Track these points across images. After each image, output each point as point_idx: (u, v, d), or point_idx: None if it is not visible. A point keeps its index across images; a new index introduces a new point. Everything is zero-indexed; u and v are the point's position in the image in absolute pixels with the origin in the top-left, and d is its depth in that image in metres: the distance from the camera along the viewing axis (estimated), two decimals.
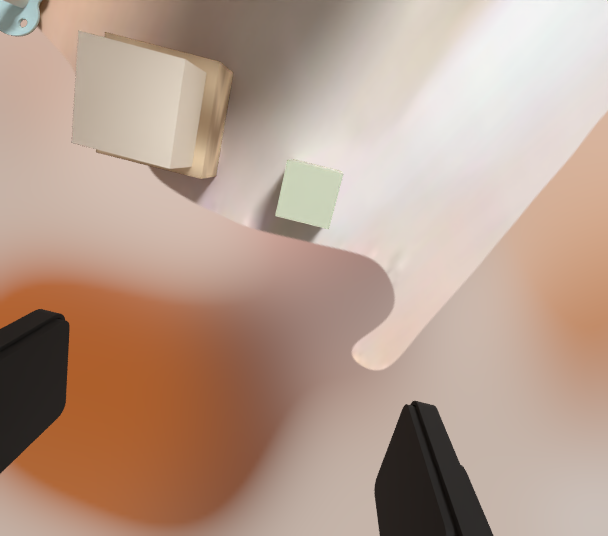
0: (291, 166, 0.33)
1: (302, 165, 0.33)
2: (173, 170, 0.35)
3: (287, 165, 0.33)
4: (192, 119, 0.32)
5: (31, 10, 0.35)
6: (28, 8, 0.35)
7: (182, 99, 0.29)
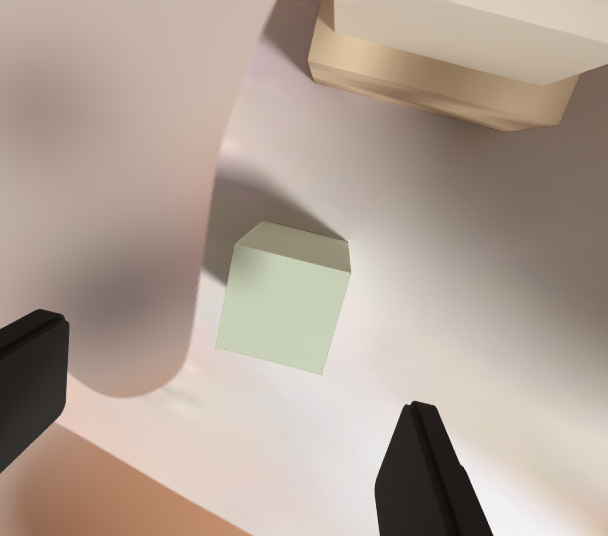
0: (337, 281, 0.16)
1: (339, 302, 0.16)
2: None
3: (340, 273, 0.16)
4: (449, 48, 0.13)
5: None
6: None
7: (526, 30, 0.10)
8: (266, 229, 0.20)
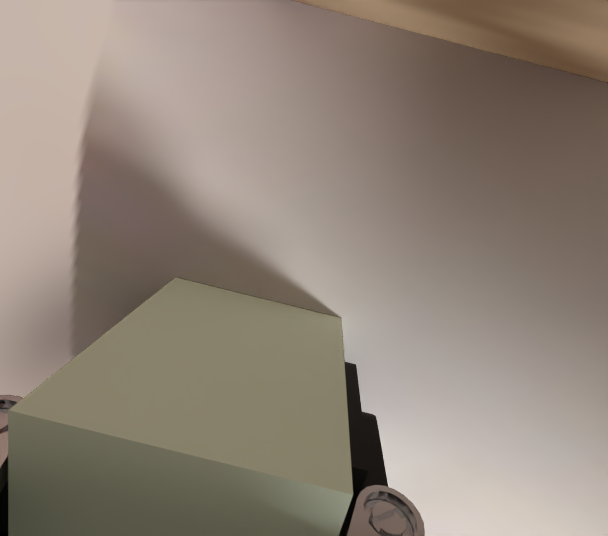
0: (314, 513, 0.05)
1: None
2: None
3: (321, 493, 0.05)
4: None
5: None
6: None
7: None
8: (167, 309, 0.09)
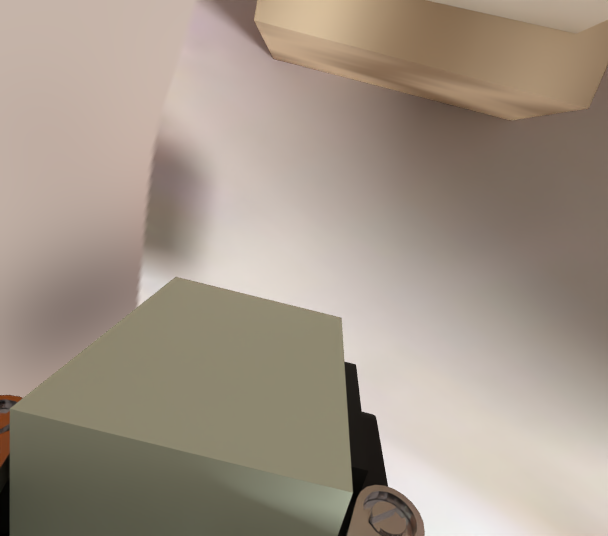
0: (313, 511, 0.06)
1: None
2: None
3: (321, 491, 0.05)
4: None
5: None
6: None
7: None
8: (167, 309, 0.09)
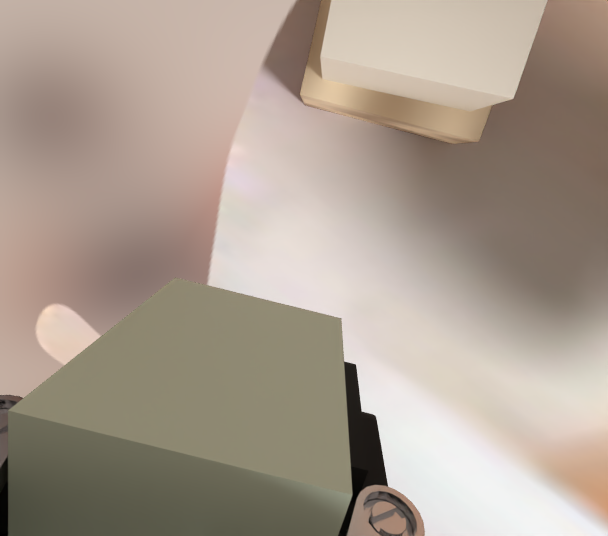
0: (312, 513, 0.05)
1: None
2: (314, 40, 0.20)
3: (320, 493, 0.05)
4: (401, 90, 0.19)
5: None
6: None
7: (443, 86, 0.16)
8: (167, 310, 0.09)
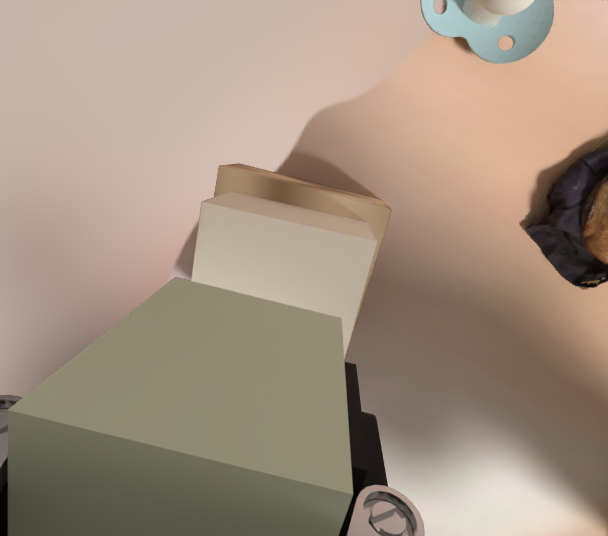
0: (313, 513, 0.05)
1: None
2: None
3: (321, 493, 0.05)
4: None
5: (457, 24, 0.22)
6: (460, 17, 0.22)
7: None
8: (167, 309, 0.09)
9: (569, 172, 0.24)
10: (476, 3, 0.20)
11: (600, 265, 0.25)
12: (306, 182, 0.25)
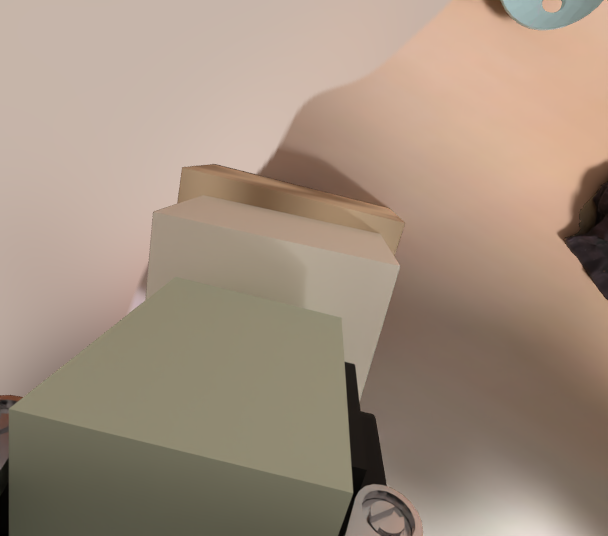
0: (314, 511, 0.06)
1: None
2: None
3: (321, 492, 0.05)
4: None
5: None
6: None
7: None
8: (167, 309, 0.09)
9: None
10: None
11: None
12: (296, 187, 0.20)
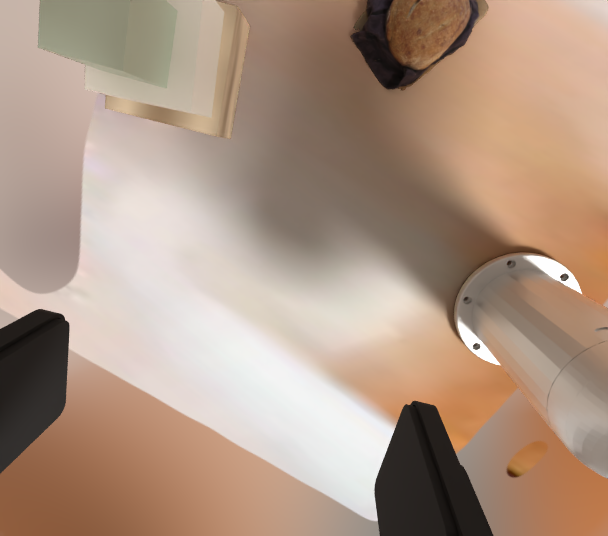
0: None
1: None
2: None
3: None
4: None
5: None
6: None
7: (157, 104, 0.28)
8: None
9: None
10: None
11: (401, 68, 0.34)
12: None
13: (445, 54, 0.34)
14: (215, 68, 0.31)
